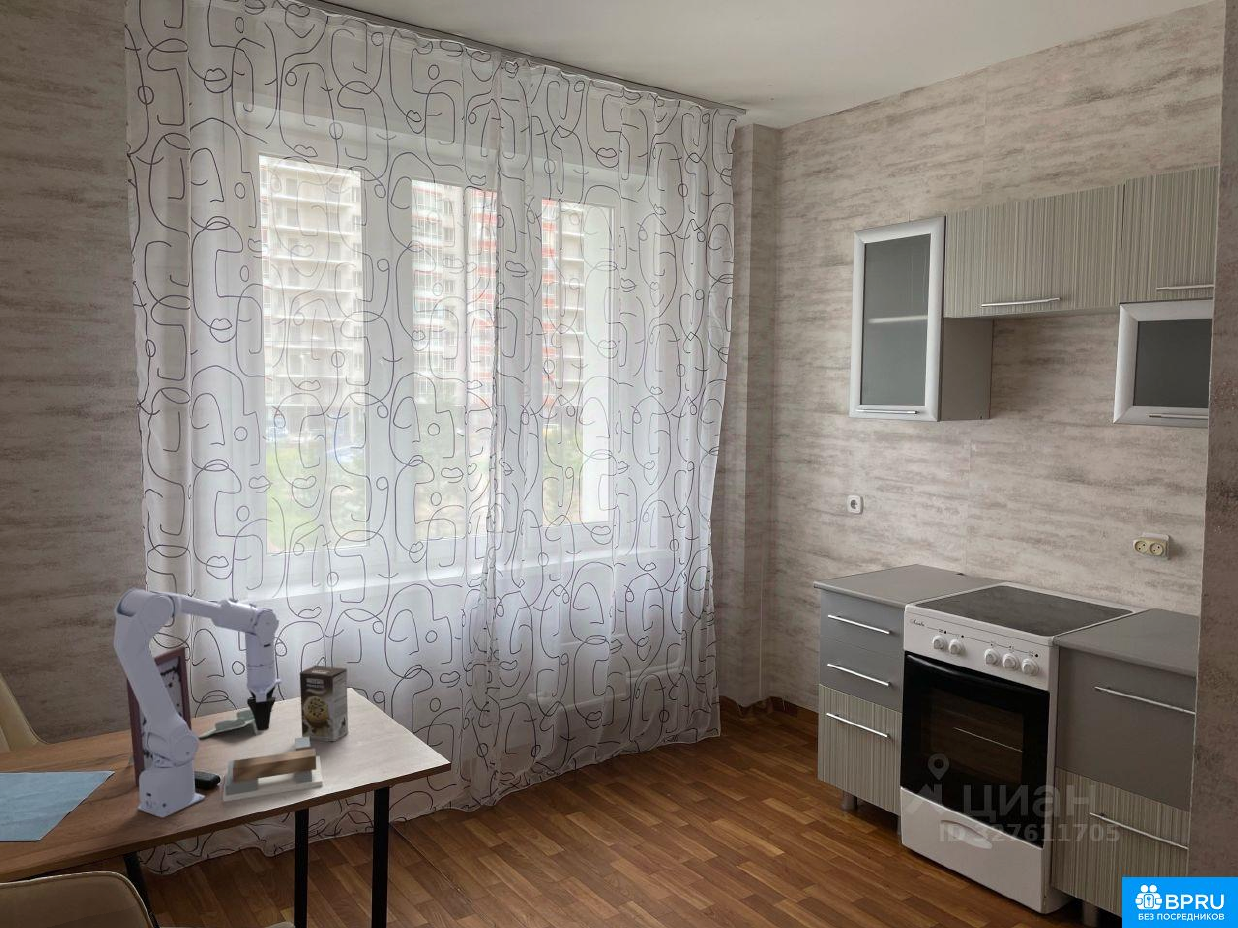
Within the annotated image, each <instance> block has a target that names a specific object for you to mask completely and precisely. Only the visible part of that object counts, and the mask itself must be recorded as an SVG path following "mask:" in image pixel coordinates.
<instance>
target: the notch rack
mask: <svg viewBox="0 0 1238 928" xmlns="http://www.w3.org/2000/svg"><path fill="white" fill-rule="evenodd" d="M310 740H311V739H309V736H308V737H302V736H301V737H296V738H295V737H294V752H295V751H301V750H308V749H311V741H310ZM254 757H255V756H253V757H252V758H254ZM247 758H248V757H247ZM247 758H245V759H247ZM241 759H242V758H241ZM241 759H239V760H241ZM233 762H234V760H229V761H228V765H227V769H226V772H225V780H224V787H223V793H222V794H223V795H222V802H223V803H225V802H226V803H227V802H230V801H231V802H232V801H239V800H244V799H249V798H250V799H251V798H255V797H256V798H257V797H262V796H268V795H274V794H280V793H286V792H294V791H299V790H306V789H312V788H318V787H323V776H322V767H321V766H322V765H321V758H320V755H316V770H310V771H303V772H297V773H290V774H284V775H278V776H271V777H265V778H258V779H252V780H246V781H239V782H233Z"/></svg>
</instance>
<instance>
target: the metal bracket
mask: <svg viewBox="0 0 1238 928" xmlns="http://www.w3.org/2000/svg"><path fill="white" fill-rule="evenodd" d="M273 711H274V710H273V709H272V710H271V713H272V712H273ZM235 715H236V717H234V718H233V719H226V720H221V721H218V722H216V723H214V726H215V727H214V728H213V729H210V730H208V731H206V732H204V733H202V734H200V735H197V736H198V738H199V739H202V738H205V737H209V736H211V735H213V734H215V733H216V734H217V733H220V732H226V731H230V730H234V729H238V728H239V729H240V728H242V727H246V726H248V725H249V724H251V723H252V726H253V730H254V733H255V735H256V736H257V735H259V733H260V734H261V733H263V732H264V731H265V730H260V731H258V730H257V727H256V723H255V719H254V715H253V713H252V711H251V709H250V708H249V709H244V710H241V711H238V712H236V714H235Z"/></svg>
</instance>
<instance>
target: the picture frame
mask: <svg viewBox="0 0 1238 928" xmlns="http://www.w3.org/2000/svg"><path fill="white" fill-rule="evenodd" d="M153 659H154V661H155V664H156V666H157V668H158V671H159V673H160V675H161V678H162V680H163V682H164V685H165V687H166V689H167V692H168V694H169V696H170V698H171V701H172V703H173V705H174V708H175V710H176V712H177V714H178V715H179V716H180V717H181V718H182V719H183V720H184V721H185V722H186V723H187V725H188V727H189V729H190V730H191V731H192V732H193V730H192V719H191V708H190V707H191V706H190V695H189V694H190V693H189V685H188V673H187V672H188V670H187V660H186V648H185V646H178V647H176V648H173V649H171V650H168V651H166V652H163V653H162V654H158V655H157V656H153ZM125 678H126V687H127V689H126V692H127V700H128V701H127V702H128V711H129V723H130V733H131V734H130V735H131V745H132V746H131V747H132V754H131V756H130V758H129V760H128V763H127V766H128V765H130V764H132V763H133V767H134V778H135V786H139V777H140V774H141V773H142V772H143V771H145V770H147V769H148V768H149V767H150V766H151V765H152V764H153V753H151V752H150V751H148V749H147V747H146V744H145V740H146V733H145V730H144V725H145V724H146V723H147V721H146V718H145V716H144V714H143V712H142V709H141V707H140V705H139V703H138V700H137V698H136V696H135V694H134V691H133V689H132V687H131V685H130V682H129V680H128V678H127V676H126V675H125Z"/></svg>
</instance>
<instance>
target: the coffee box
mask: <svg viewBox="0 0 1238 928" xmlns="http://www.w3.org/2000/svg"><path fill="white" fill-rule="evenodd" d="M347 672H348V669H347V668H343V667H342V668H341V667H335V666H334V667H333V666H324V665H313V666H312V667H308V668H306V669H304V670H302V671H300V672H299V687H300V689H299V690H300V713H301V715H300V716H301V719H300V721H301V737H308V736H309V740H315V739H318V740H317V741H322V740H325V741H324V742H330V741H334V742H336V741H338V740H339V739H341V738H343V737H344V736H346V735H347V734H348V733H349V711H348V675H347V674H348V673H347ZM345 734H346V735H345ZM340 737H341V738H340ZM338 738H339V739H338ZM337 739H338V740H337ZM326 740H328V741H326ZM335 740H336V741H335Z"/></svg>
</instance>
